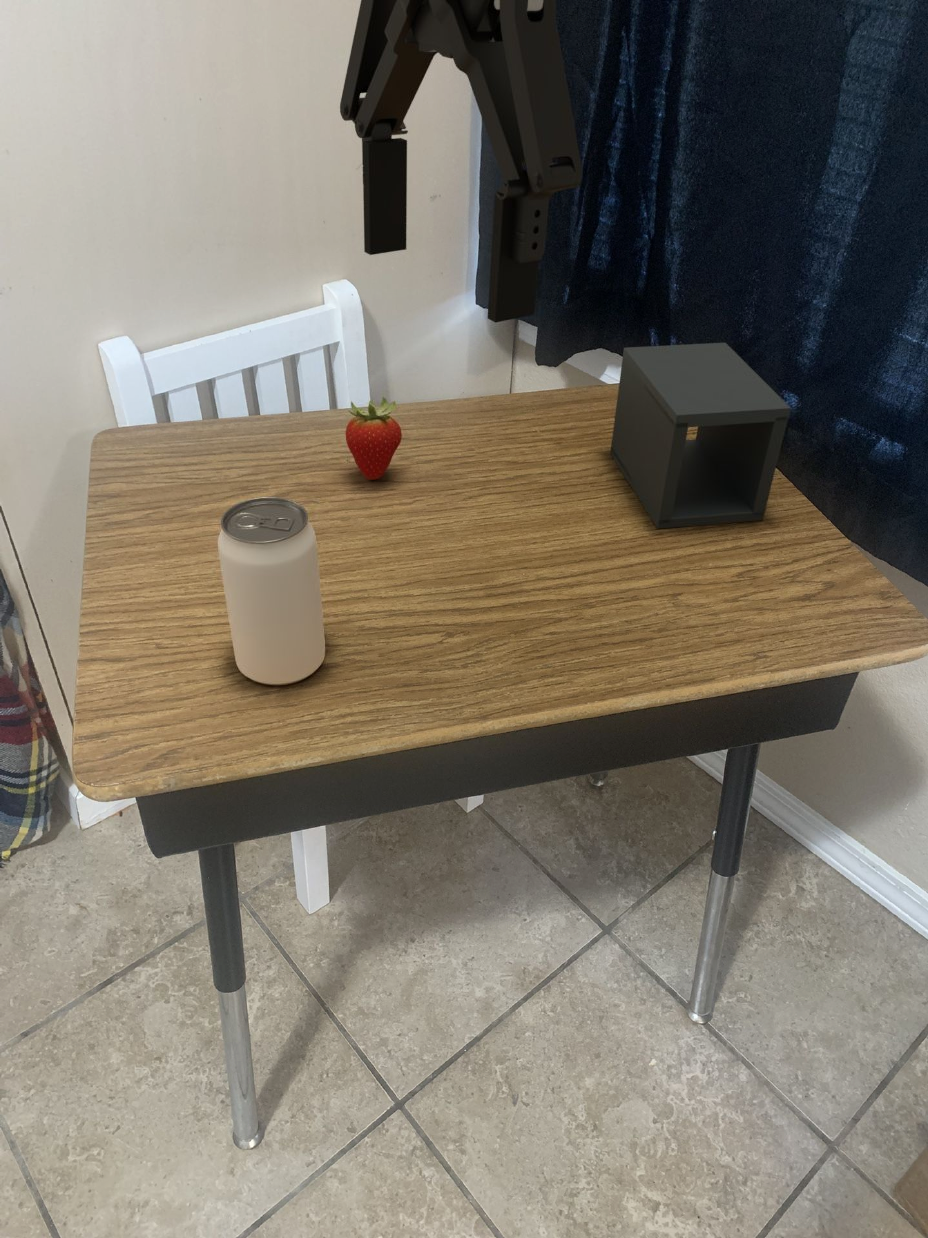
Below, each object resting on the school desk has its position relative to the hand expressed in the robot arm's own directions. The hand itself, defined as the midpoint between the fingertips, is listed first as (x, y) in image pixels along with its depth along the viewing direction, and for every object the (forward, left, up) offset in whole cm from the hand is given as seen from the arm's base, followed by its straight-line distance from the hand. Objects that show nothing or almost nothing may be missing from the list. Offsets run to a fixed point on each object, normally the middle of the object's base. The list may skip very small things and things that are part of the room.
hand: (443, 281), depth 59 cm
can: (+4, +12, -26) cm, 29 cm away
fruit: (+21, -9, -26) cm, 35 cm away
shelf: (+2, -31, -26) cm, 41 cm away
